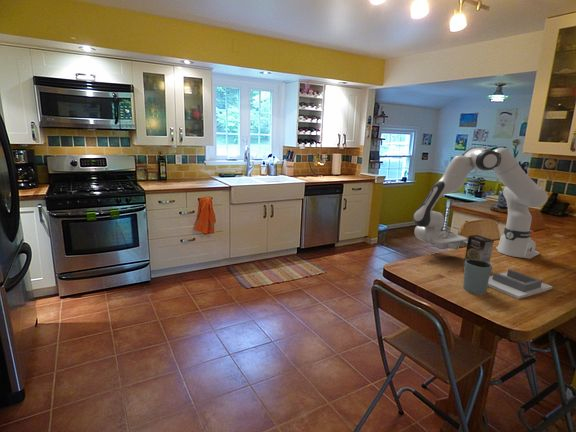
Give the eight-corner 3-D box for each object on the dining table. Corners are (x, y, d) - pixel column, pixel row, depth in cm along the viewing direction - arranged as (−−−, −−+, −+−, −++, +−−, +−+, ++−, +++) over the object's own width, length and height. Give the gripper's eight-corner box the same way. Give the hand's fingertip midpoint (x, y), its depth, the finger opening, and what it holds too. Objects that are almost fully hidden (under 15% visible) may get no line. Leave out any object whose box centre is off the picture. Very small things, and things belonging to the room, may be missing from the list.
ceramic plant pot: (476, 296, 138) (481, 268, 135) (455, 286, 147) (459, 259, 144) (493, 292, 142) (498, 265, 139) (471, 283, 151) (476, 257, 148)
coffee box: (462, 266, 170) (467, 235, 166) (471, 265, 172) (477, 234, 169) (479, 273, 162) (484, 241, 158) (488, 272, 164) (494, 239, 161)
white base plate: (509, 273, 163) (511, 265, 162) (551, 289, 148) (553, 280, 147) (476, 281, 153) (478, 272, 152) (518, 299, 137) (520, 289, 136)
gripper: (427, 235, 179) (450, 243, 167) (454, 231, 188) (477, 238, 176) (426, 246, 180) (448, 255, 168) (452, 242, 189) (475, 250, 177)
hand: (463, 246), depth 172 cm, fingers open, 8 cm apart
